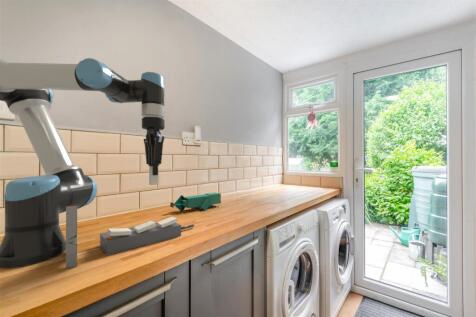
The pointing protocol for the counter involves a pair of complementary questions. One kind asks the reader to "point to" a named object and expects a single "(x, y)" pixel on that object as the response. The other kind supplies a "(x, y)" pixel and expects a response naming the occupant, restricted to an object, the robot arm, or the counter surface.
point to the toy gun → (71, 236)
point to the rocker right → (167, 222)
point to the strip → (139, 238)
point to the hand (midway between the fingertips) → (153, 184)
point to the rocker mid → (144, 226)
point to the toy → (197, 201)
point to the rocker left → (119, 231)
